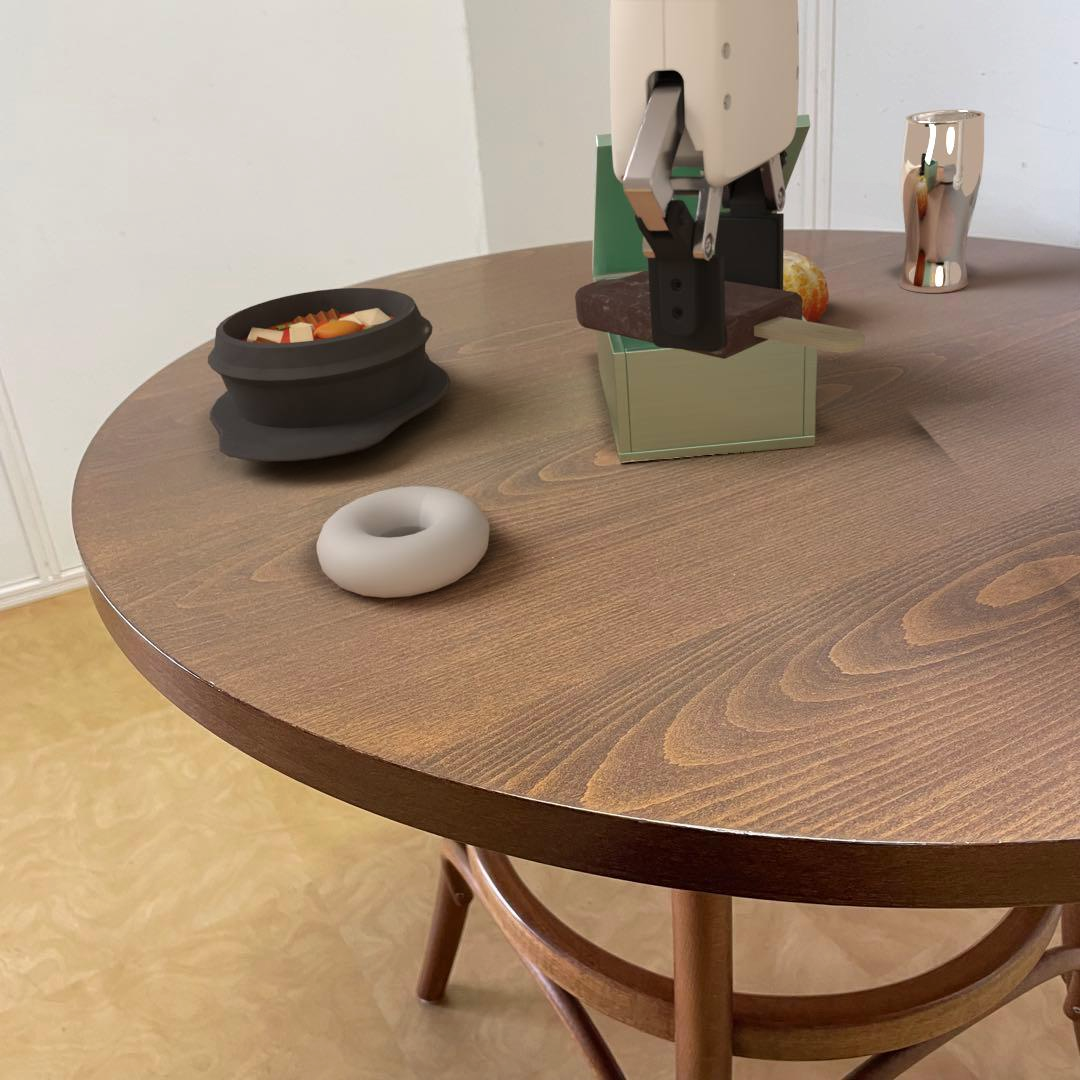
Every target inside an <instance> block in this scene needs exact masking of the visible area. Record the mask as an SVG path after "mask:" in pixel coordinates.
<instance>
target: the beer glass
mask: <svg viewBox="0 0 1080 1080" xmlns="http://www.w3.org/2000/svg"><path fill="white" fill-rule="evenodd" d="M985 116H986V114H985V112H983V111H979V110H974V109H940V110H930V111H922V112H921V111H920V112H917V113H912V114H909V115H907V116H906V117H905V124H904V125H905V127H904V131H903V132H904V134H903V140H902V147H901V148H902V149H901V158H900V175H899V177H900V180H899V181H900V184H899V185H900V197H901V207H902V214H903V215H902V216H903V223H904V233H905V251H904V258H903V263H902V267H901V271H900V275H899V279H898V280H899V281H898V284H899V286H900V287H901V289H904V290H906V291H909V292H913V293H921V294H943V293H951V292H956V291H960V290H962V289H964V288H965V287H967V285H968V272H967V264H966V247H967V242H968V241H967V240H968V234H969V230H970V226H971V223H972V219H973V215H974V211H975V208H976V204H977V200H978V196H979V193H980V187H981V181H982V177H983V170H984V169H983V168H984V158H985V155H984V154H985Z"/></svg>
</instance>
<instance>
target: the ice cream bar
mask: <svg viewBox="0 0 1080 1080" xmlns="http://www.w3.org/2000/svg"><path fill="white" fill-rule="evenodd" d="M636 273H637V274H634V273H633V274H634V275H630V276H627V277H623V278H616V279H604V280H600V281H596V282H593V281H592V282H591V283H588V284H586V285H583V286H581V287H580V288H578V289H577V290H576V292H575V295H574V301H575V311H576V312H575V313H576V319H577V321H578V324H579V325H580V326H581V327H583V328H585V329H590V330H594V331H596V330H598V331H602V332H607V333H611V334H616V335H620V336H625V337H629V338H633V339H638V340H642V341H647V342H651V343H653V341H652V330H651V310H650V291H649V271H640V272H636ZM724 283H725V334H726V340H725V344H724V345H723V346H722V347H721V348H720V349H719V350H718V351H715V352H709V351H697V350H687V351H691V352H696V353H700V354H705V355H709V356H714V357H718V358H723V359H726V358H728V357H730V356H732V355H735V354H737V353H739V352H742V351H744V350H746V349H748V348H750V347H753V346H755V345H757V344H759V343H762V342H764V341H766V340H769V339H771V340H776V341H781V342H786V343H791V344H796V345H801V346H806V347H811V348H816V349H817V350H821V351H826V352H832V353H842V354H843V353H854V352H859V351H861V350H863V349H864V348H865V346H866V334H865V333H864V332H863V331H861V330H857V329H852V328H848V327H847V328H846V327H840V326H836V325H830V324H824V323H819V322H816V323H814V322H809V321H803V320H802V298H801V296H800V295H799V294H798V293H796V292H791V291H785V290H779V289H773V288H766V287H760V286H754V285H748V284H742V283H736V282H730V281H724ZM683 350H685V349H683Z"/></svg>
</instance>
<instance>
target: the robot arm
mask: <svg viewBox="0 0 1080 1080" xmlns="http://www.w3.org/2000/svg"><path fill="white" fill-rule="evenodd" d="M799 25H800V24H799V0H610V3H609V98H610V100H609V101H610V103H609V104H610V105H609V106H610V131H611V132H610V134H611V137H612V156H613V168H614V173H615V175H616V177H617V179H618V180H619V181H620V182H621V183H622V184H623V190H624V193H625V195H626V197H627V199H628V201H629V203H630V204H631V206H632V208H633V210H634V212H635V213H636V214H635V220H636V222H637V224H638V227H639V229H640V231H641V233H642V234H643V241H642V250H643V254H644V256H645V257H646V258H648V271H649V291H650V310H651V330H652V341H653V343H654V344H655V345H656V346H657V347H661V348H672V349H685V350H697V351H709V352H715V351H718V350H719V349H720V348H721V347H722V346H723V345H724V344H725V340H726V334H725V283H724V281H730V282H736V283H742V284H748V285H754V286H760V287H766V288H773V289H779V290H783V253H784V250H785V249H784V237H785V236H784V235H785V234H784V232H785V231H784V230H785V229H784V228H785V227H784V225H785V223H784V222H785V221H784V220H785V219H784V217H785V215H784V214H785V213H784V212H783V213H782V211H783V210H784V207H785V203H786V197H787V194H786V191H785V185H784V179H783V173H782V170H783V166H784V165H785V164H786V162H787V161H786V160H785V156H787V152H786V151H785V150H784V149H785V148H787V147H788V146H789V144H790V143H791V142H792V140H793V137H794V135H795V131H796V124H797V116H798V111H799V110H798V109H799V94H800V93H799V91H800V90H799V88H800V33H799V30H800V29H799V28H800V27H799ZM678 167H688V168H704V169H702V170H700V173H701V175H705V177H671V174H672V170H674V169H676V168H678ZM674 198H698V205H697V213H696V220H695V221H694V219H693V217H692V216H691V214H690V212H689V210H688V208H687V206H686V204H685V203H684V201H682V200H675V199H674ZM721 204H722V208H723V210H725V211H730V212H720V207H721ZM772 212H777V213H772ZM714 250H715V255H713V254H714Z"/></svg>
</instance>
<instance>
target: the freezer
mask: <svg viewBox="0 0 1080 1080" xmlns="http://www.w3.org/2000/svg"><path fill="white" fill-rule="evenodd" d="M637 273H638V272H633V273H623V274H613V275H603V276H593V277H592V283H593V282H596V281H600V280H604V279H616V278H623V277H627V276H630V275H634V274H637ZM802 320H803V321H807V320H806V319H805V318H804V317H803V316H802ZM595 331H596V343H597V344H596V346H597V357H598V372H599V376H600V380H601V385H602V390H603V394H604V398H605V399H604V400H605V403H606V408H607V411H608V416H609V420H610V425H611V429H612V430H611V431H612V434H613V439H614V438H615V439H614V443H615V448H616V447H617V448H616V451H618V452H617V456H618V455H619V457H618V461H619V460H620V461H619V463H620V462H623V461H631V460H635V461H636V460H645V459H660V458H674V457H686V456H698V455H710V454H723V455H729V454H728V453H734V454H744V453H753V451H755V452H764V451H765V452H766V451H776V450H786V449H787V450H788V449H797V448H807V447H809V448H810V447H815V446H816V422H817V421H816V419H817V417H816V416H817V379H818V377H817V376H818V372H817V371H818V349H816V348H811V347H806V346H801V345H796V344H791V343H786V342H781V341H776V340H771V339H769V340H766V341H764V342H762V343H759V344H757V345H755V346H753V347H750V348H748V349H746V350H744V351H742V352H739V353H737V354H735V355H732V356H730V357H728V358H726V359H723V358H718V357H714V356H709V355H705V354H700V353H696V352H691V351H687V350H683V349H672V348H661V347H657V346H656V345H655V344H654V343H651V342H647V341H642V340H638V339H633V338H629V337H625V336H620V335H616V334H611V333H607V332H602V331H598V330H595ZM740 452H741V453H740ZM743 452H744V453H743Z"/></svg>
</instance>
